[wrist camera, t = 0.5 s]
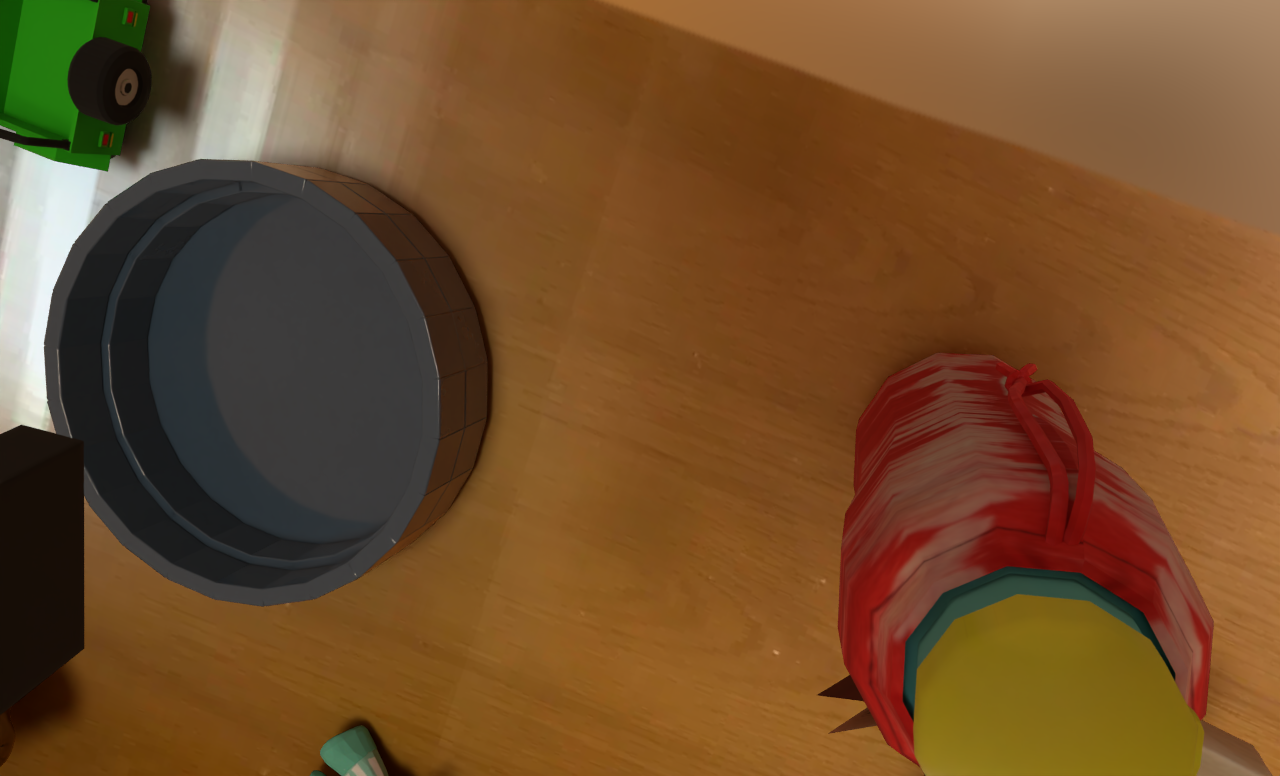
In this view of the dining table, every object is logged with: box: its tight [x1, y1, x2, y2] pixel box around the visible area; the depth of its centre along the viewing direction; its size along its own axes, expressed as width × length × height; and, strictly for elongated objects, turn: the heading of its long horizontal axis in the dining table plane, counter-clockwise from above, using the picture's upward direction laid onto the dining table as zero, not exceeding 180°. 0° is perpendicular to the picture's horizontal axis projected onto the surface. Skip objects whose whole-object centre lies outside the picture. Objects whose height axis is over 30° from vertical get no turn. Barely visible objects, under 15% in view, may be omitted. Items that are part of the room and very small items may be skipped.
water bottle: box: [818, 353, 1214, 776], centre depth 28 cm, size 12×8×25 cm, turn 164°
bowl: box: [44, 159, 488, 607], centre depth 44 cm, size 19×19×6 cm
